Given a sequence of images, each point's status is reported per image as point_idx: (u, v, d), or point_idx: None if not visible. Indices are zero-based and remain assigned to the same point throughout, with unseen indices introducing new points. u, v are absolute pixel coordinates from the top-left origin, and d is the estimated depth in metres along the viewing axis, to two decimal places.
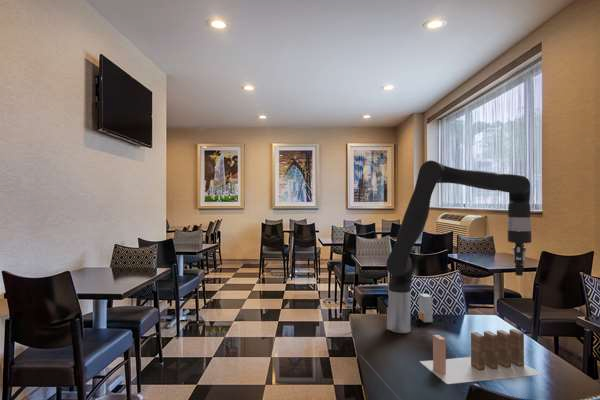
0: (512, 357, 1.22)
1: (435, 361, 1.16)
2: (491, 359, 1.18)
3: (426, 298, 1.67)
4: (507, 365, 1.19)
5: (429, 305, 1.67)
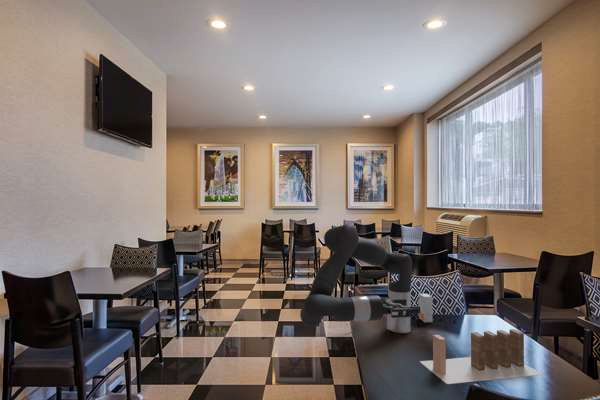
0: (512, 357, 1.22)
1: (435, 361, 1.16)
2: (491, 359, 1.18)
3: (426, 298, 1.67)
4: (507, 365, 1.19)
5: (429, 305, 1.67)
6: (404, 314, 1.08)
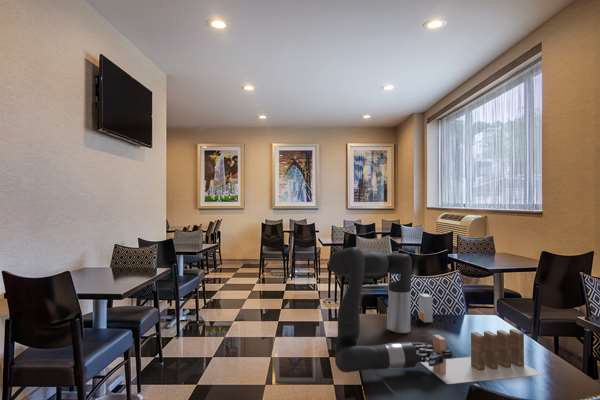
0: (512, 357, 1.22)
1: None
2: (491, 359, 1.18)
3: (426, 298, 1.67)
4: (507, 365, 1.19)
5: (429, 305, 1.67)
6: None
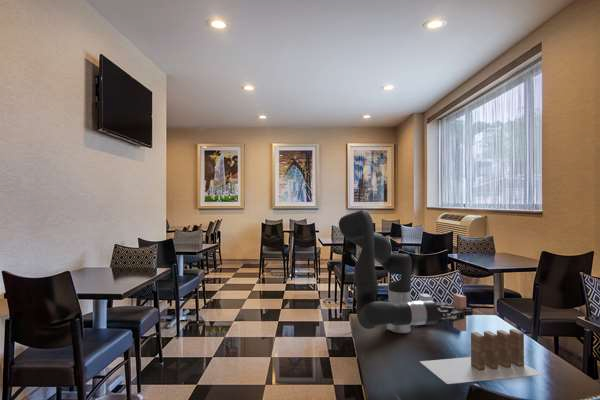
0: (512, 357, 1.22)
1: None
2: (491, 359, 1.18)
3: (426, 298, 1.67)
4: (507, 365, 1.19)
5: None
6: None
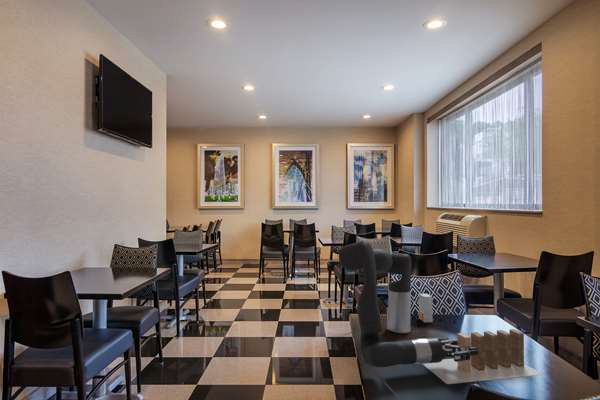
0: (512, 357, 1.22)
1: None
2: (491, 359, 1.18)
3: (426, 298, 1.67)
4: (507, 365, 1.19)
5: (429, 305, 1.67)
6: None
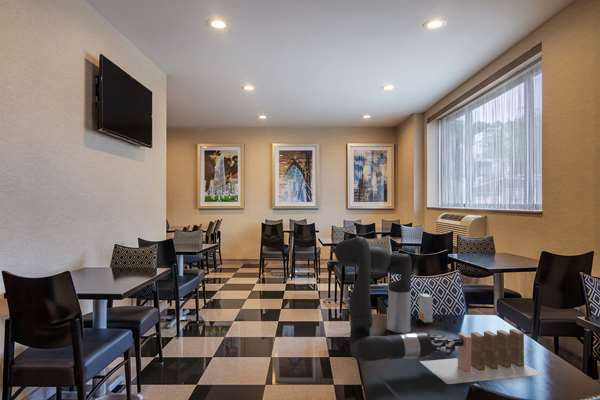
0: (512, 357, 1.22)
1: (460, 359, 1.18)
2: (491, 359, 1.18)
3: (426, 298, 1.67)
4: (507, 365, 1.19)
5: (429, 305, 1.67)
6: None
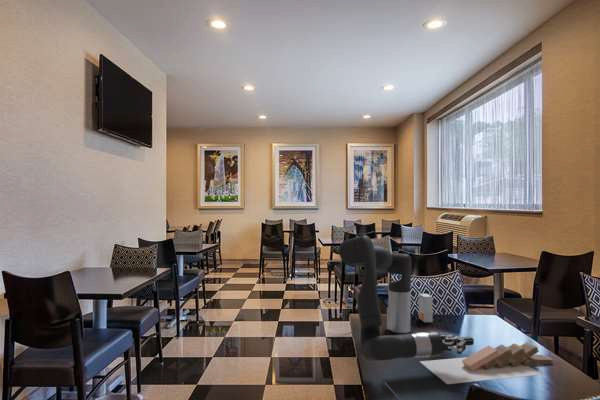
0: None
1: (472, 358, 1.19)
2: None
3: (426, 298, 1.67)
4: (513, 362, 1.19)
5: (429, 305, 1.67)
6: None
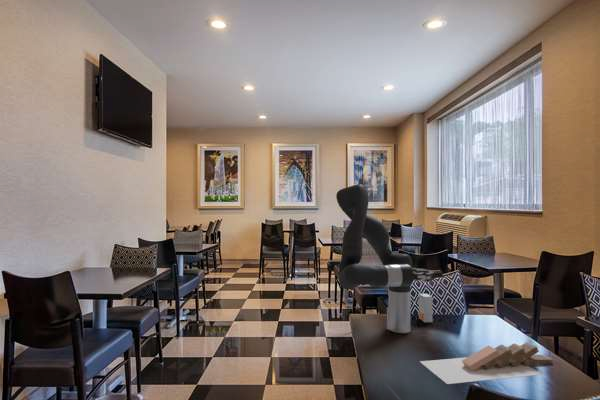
0: None
1: (472, 358, 1.19)
2: None
3: (426, 298, 1.67)
4: (513, 362, 1.19)
5: (429, 305, 1.67)
6: None
